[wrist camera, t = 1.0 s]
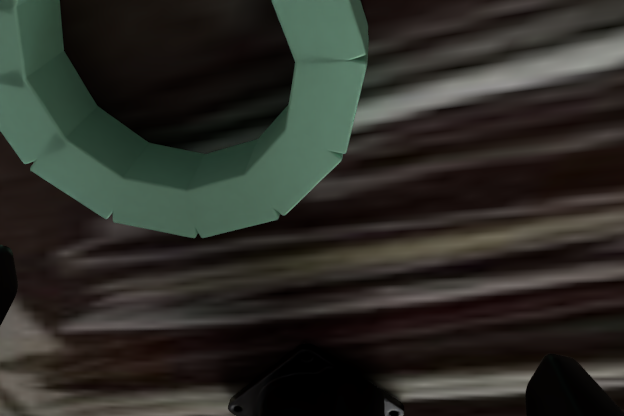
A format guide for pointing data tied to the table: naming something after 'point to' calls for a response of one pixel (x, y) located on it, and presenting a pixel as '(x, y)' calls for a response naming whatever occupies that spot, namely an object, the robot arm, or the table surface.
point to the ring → (172, 161)
